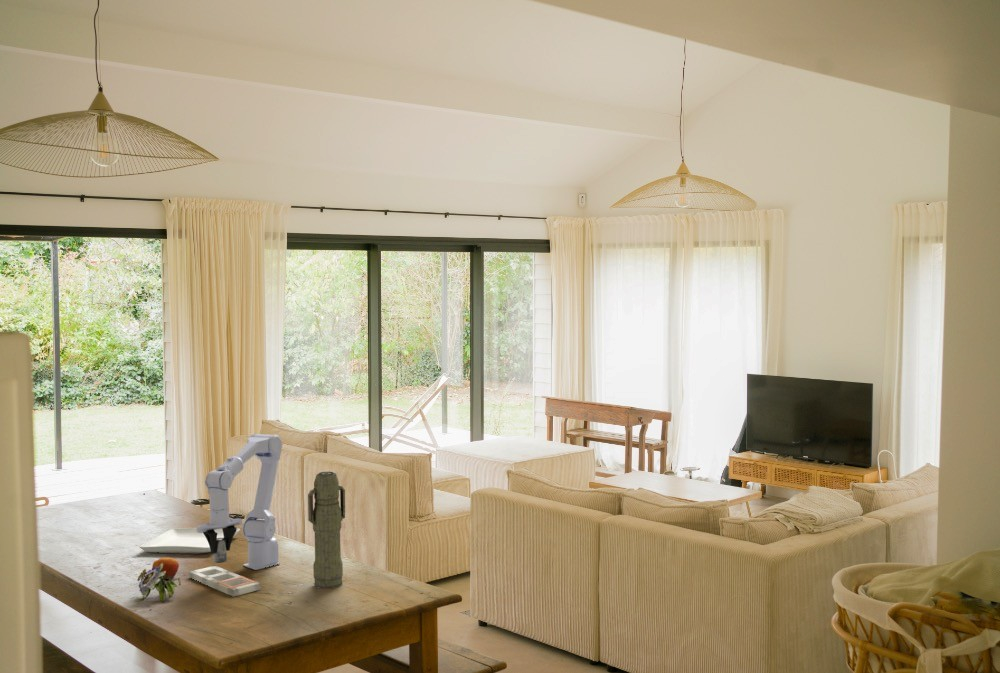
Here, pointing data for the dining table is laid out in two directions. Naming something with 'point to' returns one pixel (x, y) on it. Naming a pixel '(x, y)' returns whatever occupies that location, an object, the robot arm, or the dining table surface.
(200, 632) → the dining table surface
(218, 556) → the metal peg
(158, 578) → the passion flower
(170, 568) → the fruit
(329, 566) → the thermos
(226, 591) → the hole rail
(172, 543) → the square plate
